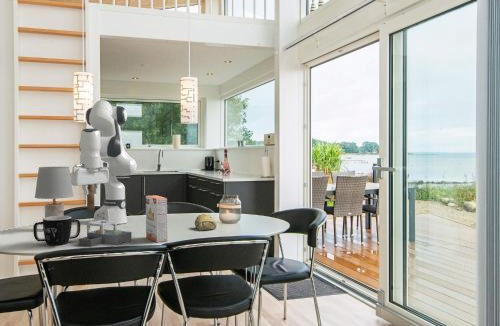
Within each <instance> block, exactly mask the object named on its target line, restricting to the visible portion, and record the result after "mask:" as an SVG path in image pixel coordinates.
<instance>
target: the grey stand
mask: <svg viewBox="0 0 500 326" xmlns="http://www.w3.org/2000/svg"><path fill="white" fill-rule="evenodd" d="M112 225H113V229H106V232H104V229H105V227H107V226H112ZM91 226H93V227H99V229H101V233H100V232H98V229H97V230H93V231H91ZM117 226H118V224H117V221H105V220H99V221H95V222H90V221H89V222H87V223H86V237H88V236H96V237H102V244H110V245H120V244H123V243H126V242H131V241H132V240H133V238H132V236H133V235H132V231H128V230H127V231H125V230H121V231H122V233H121V234H114V231H117Z"/></svg>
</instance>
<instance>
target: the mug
mask: <svg viewBox="0 0 500 326" xmlns="http://www.w3.org/2000/svg"><path fill="white" fill-rule="evenodd" d="M72 223H76V232H75V234H74V235H71V233H72V225H73V224H72ZM39 225H41V226H42V230H43V236H44V237H43V238H41V237H39V236H38V226H39ZM80 233H81V221H80V220H79V219H73V218H72V217H71V216H69V215H64V216H52V217H46V218H45V217H43V218H42V221H37V222H35V223H33V238H34V240H35V241H37V242H45V243H46V245H49V246H61V245H62V246H63V245H66V244H67V243H69V241H70V240H73V239H77V238H78V237H79V235H80Z"/></svg>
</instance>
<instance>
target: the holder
mask: <svg viewBox="0 0 500 326" xmlns="http://www.w3.org/2000/svg"><path fill="white" fill-rule="evenodd" d="M101 244H103V243H102V237H96V236H88V237H87V236H85V237H80V238H79V239H78V246H83V247H95V246H98V245H101Z"/></svg>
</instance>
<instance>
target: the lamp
mask: <svg viewBox="0 0 500 326" xmlns="http://www.w3.org/2000/svg"><path fill="white" fill-rule="evenodd" d="M36 179H37V180H36V187H35V193H34V199H40V200H41V199H42V200H52V202H46V204H44V218H46V217H52V216H65V214H64V213H65V212H64V211H65V209H64V206H65V205H64V203H62V202H60V201H57V202H56V200H58V199H69V198H73V197H74V192H73V185H72V184H71V171H70V167H69V166H40V167H38V173H37V178H36Z"/></svg>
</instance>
